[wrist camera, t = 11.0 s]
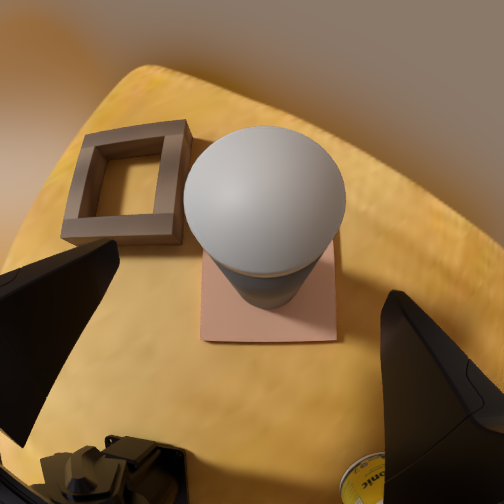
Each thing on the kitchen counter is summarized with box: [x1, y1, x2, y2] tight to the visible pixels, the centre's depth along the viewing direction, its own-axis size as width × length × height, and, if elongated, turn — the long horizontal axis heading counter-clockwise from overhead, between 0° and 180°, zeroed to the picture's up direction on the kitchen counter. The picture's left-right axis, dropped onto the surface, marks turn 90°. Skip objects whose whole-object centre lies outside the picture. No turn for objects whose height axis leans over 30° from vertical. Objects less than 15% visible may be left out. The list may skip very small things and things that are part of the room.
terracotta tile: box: [200, 240, 336, 342], centre depth 21 cm, size 9×9×1 cm
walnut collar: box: [60, 119, 193, 246], centre depth 22 cm, size 10×10×2 cm
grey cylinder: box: [184, 126, 346, 309], centre depth 14 cm, size 4×4×13 cm
